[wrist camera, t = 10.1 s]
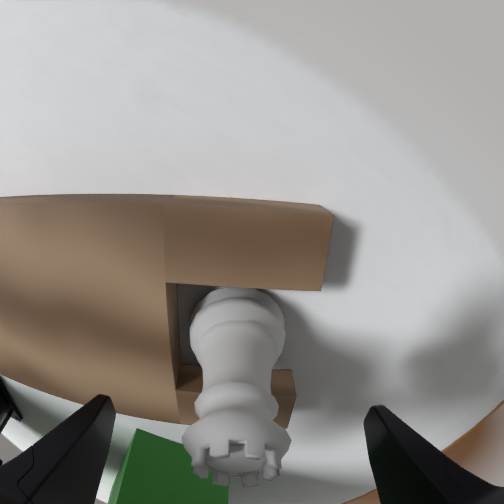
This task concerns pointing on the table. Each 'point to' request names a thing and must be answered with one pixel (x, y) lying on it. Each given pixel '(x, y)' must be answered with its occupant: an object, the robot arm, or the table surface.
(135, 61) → the table surface
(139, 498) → the green open box
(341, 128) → the table surface
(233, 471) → the rook chess piece
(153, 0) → the table surface
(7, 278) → the notched board
